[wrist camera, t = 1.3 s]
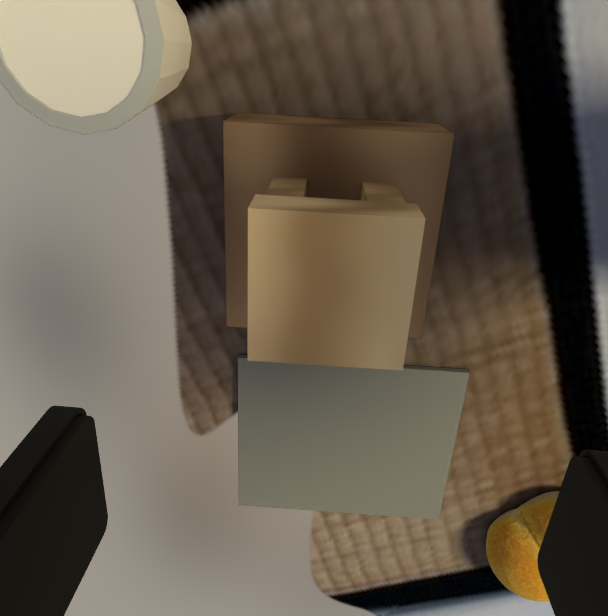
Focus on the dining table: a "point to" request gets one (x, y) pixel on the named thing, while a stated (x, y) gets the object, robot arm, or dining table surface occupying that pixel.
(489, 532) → the bread roll
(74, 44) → the cream cup
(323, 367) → the mat
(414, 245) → the stool
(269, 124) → the step
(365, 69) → the dining table surface
